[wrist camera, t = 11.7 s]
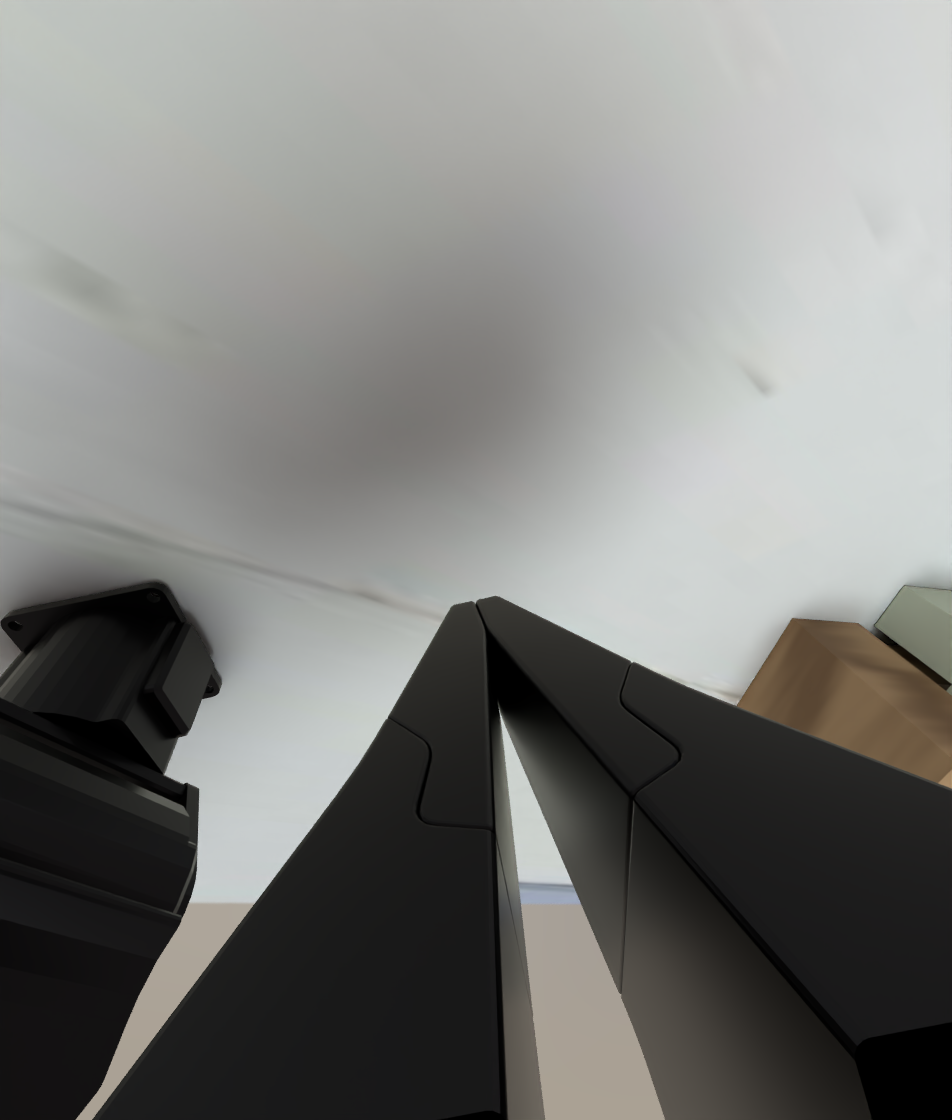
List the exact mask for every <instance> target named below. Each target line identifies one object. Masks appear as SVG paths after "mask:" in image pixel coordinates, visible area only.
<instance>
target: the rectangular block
mask: <svg viewBox="0 0 952 1120" xmlns="http://www.w3.org/2000/svg"><path fill="white" fill-rule="evenodd" d="M951 685H952V684H951V683H950V682H948V681H947V680H946V679H944V678H943V677H942V676H940V675H939V674H938V673H936V672H935V671H934V670H932V669H931V668H930V667H928V666H927V665H926V664H924V663H923V662H922V661H920V660H919V659H918V658H917V657H915V656H914V655H913V654H911V653H910V652H909V651H907V650H906V649H905V648H903V647H902V646H894V645H886V644H885V643H883V642H882V641H881V640H879V639H878V638H877V637H875V636H874V635H873V634H872V633H870V632H869V631H868V630H866V629H865V628H864V627H862V626H861V625H860V624H859V623H848V622H835V621H822V620H809V619H796V618H792V620H791V621H790V623H789V624H788V626H787V628H786V629H785V631H784V632H783V634H782V635H781V637H780V639H779V640H778V642H777V643H776V645H775V646H774V648H773V650H772V651H771V653H770V654H769V656H768V657H767V659H766V661H765V662H764V664H763V665H762V667H761V669H760V670H759V672H758V673H757V675H756V676H755V678H754V680H753V681H752V683H751V684H750V686H749V687H748V689H747V691H746V692H745V694H744V695H743V697H742V699H741V700H740V702H739V703H738V705H737V707H740V708H742V709H745V710H748V711H750V712H753V713H755V714H758V715H761V716H763V717H766V718H769V719H771V720H774V721H776V722H779V723H782V724H784V725H787V726H790V727H792V728H795V729H797V730H800V731H803V732H805V733H808V734H810V735H813V736H816V737H818V738H821V739H824V740H826V741H829V742H831V743H834V744H837V745H839V746H842V747H844V748H847V749H850V750H852V751H855V752H858V753H860V754H863V755H865V756H868V757H871V758H873V759H876V760H878V761H881V762H884V763H886V764H889V765H892V766H894V767H897V768H899V769H902V770H905V771H907V772H910V773H913V774H915V775H918V776H920V777H923V778H926V779H928V780H931V781H933V782H936V783H939V784H941V785H944V786H947V787H949V788H952V695H951V694H949V693H948V692H947V689H948V688H949V687H950V686H951Z"/></svg>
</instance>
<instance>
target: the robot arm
mask: <svg viewBox="0 0 952 1120" xmlns="http://www.w3.org/2000/svg"><path fill="white" fill-rule="evenodd" d="M151 593H156V594H158V595H159V596H160V597H155V596H153V595H152V594H151ZM15 621H16V622H19V623H20V624H22V625H20V624H17V623H16V622H15ZM1 627H2V629H3V630H4V631H5V632H6V633H7V635H8V636H9V637H10V638H11V639H12V641H13V642H14V643H15V644H16V645H17V647H18V648H19V649H20V650H21V651H22V652H21V653H20V655H19V656H18V657H17V658H16V659H15V660H14V662H13V663H12V664H11V665H10V666H9V667H8V669H7V670H6V671H5V672H4V673H3V674H2V676H1V677H0V1120H76V1118H77V1117H78V1116H79V1115H80V1113H81V1112H82V1111H83V1109H84V1108H85V1107H86V1106H87V1104H88V1103H89V1102H90V1101H91V1099H92V1098H93V1097H94V1095H95V1094H96V1093H97V1091H98V1090H99V1088H100V1087H101V1085H102V1083H103V1081H104V1079H105V1076H106V1074H107V1071H108V1069H109V1066H110V1064H111V1061H112V1059H113V1056H114V1054H115V1051H116V1049H117V1046H118V1044H119V1041H120V1039H121V1036H122V1033H123V1031H124V1028H125V1026H126V1024H127V1021H128V1019H129V1017H130V1014H131V1012H132V1010H133V1007H134V1005H135V1003H136V1000H137V998H138V996H139V994H140V992H141V990H142V988H143V986H144V985H145V983H146V981H147V979H148V977H149V975H150V973H151V971H152V969H153V967H154V965H155V963H156V961H157V960H158V958H159V957H160V955H161V953H162V952H163V950H164V949H165V947H166V946H167V944H168V943H169V941H170V939H171V938H172V936H173V935H174V933H175V932H176V930H177V928H178V927H179V925H180V923H181V919H182V917H183V915H184V913H185V911H186V908H187V906H188V903H189V901H190V898H191V895H192V892H193V888H194V884H195V880H196V872H197V845H198V812H199V788H197V787H195V786H192V785H190V784H188V783H185V784H182V783H180V782H178V781H175V780H173V779H171V778H169V777H167V776H165V775H164V774H165V771H166V768H167V766H168V763H169V761H170V758H171V756H172V753H173V750H174V748H175V745H176V743H177V740H178V738H179V737H182V736H186V735H187V734H188V732H189V731H190V729H191V727H192V724H193V722H194V719H195V716H196V713H197V711H198V708H199V705H200V703H201V700H202V699H205V698H209V697H213V696H216V695H217V694H218V693H219V691H220V688H221V685H222V683H221V680H220V678H219V677H218V675H217V673H216V671H215V670H214V662H213V660H212V659H211V657H210V655H209V653H208V652H207V650H206V648H205V646H204V644H203V643H202V641H201V639H200V637H199V636H198V634H197V632H196V630H195V629H194V627H193V625H191V624H190V623H189V622H187V620H186V619H185V617H184V615H183V613H182V612H181V610H180V608H179V606H178V605H177V603H176V601H175V599H174V598H173V596H172V594H171V592H170V591H169V589H168V588H167V587H166V586H165V585H163V584H161V583H157V582H156V583H147V584H142V585H138V586H133V587H128V588H123V589H118V590H113V591H108V592H103V593H98V594H93V595H88V596H83V597H79V598H74V599H69V600H64V601H59V602H54V603H49V604H44V605H39V606H34V607H29V608H25V609H20V610H15V611H12V612H9V613H8V614H7V615H6V616H5V617H4V618H3V619H2V621H1ZM207 686H212V687H207ZM498 706H499V707H498ZM499 710H500V713H501V716H502V718H503V721H504V724H505V726H506V728H507V731H508V733H509V735H510V738H511V740H512V743H513V745H514V747H515V750H516V752H517V754H518V757H519V759H520V761H521V764H522V766H523V768H524V771H525V773H526V775H527V778H528V780H529V782H530V785H531V787H532V790H533V792H534V794H535V797H536V799H537V801H538V804H539V806H540V808H541V811H542V813H543V815H544V818H545V820H546V822H547V825H548V827H549V829H550V832H551V834H552V836H553V839H554V841H555V844H556V846H557V848H558V851H559V853H560V855H561V858H562V860H563V862H564V865H565V867H566V869H567V872H568V874H569V876H570V879H571V881H572V883H573V886H574V888H575V891H576V893H577V895H578V898H579V900H580V902H581V905H582V906H583V909H584V912H585V914H586V916H587V919H588V921H589V923H590V925H591V928H592V930H593V933H594V935H595V938H596V940H597V942H598V944H599V947H600V949H601V952H602V954H603V956H604V959H605V961H606V963H607V965H608V968H609V970H610V973H611V975H612V977H613V980H614V982H615V984H616V987H617V989H618V991H619V993H620V994H621V998H622V1001H623V1003H624V1005H625V1008H626V1010H627V1012H628V1015H629V1018H630V1020H631V1023H632V1025H633V1028H634V1030H635V1033H636V1036H637V1038H638V1041H639V1044H640V1046H641V1049H642V1052H643V1055H644V1058H645V1060H646V1063H647V1066H648V1069H649V1072H650V1075H651V1078H652V1081H653V1084H654V1087H655V1090H656V1093H657V1096H658V1099H659V1102H660V1105H661V1108H662V1111H663V1114H664V1117H665V1120H952V788H949V787H947V786H944V785H941V784H939V783H936V782H933V781H931V780H928V779H926V778H923V777H920V776H918V775H915V774H913V773H910V772H907V771H905V770H902V769H899V768H897V767H894V766H892V765H889V764H886V763H884V762H881V761H878V760H876V759H873V758H871V757H868V756H865V755H863V754H860V753H858V752H855V751H852V750H850V749H847V748H844V747H842V746H839V745H837V744H834V743H831V742H829V741H826V740H824V739H821V738H818V737H816V736H813V735H810V734H808V733H805V732H803V731H800V730H797V729H795V728H792V727H790V726H787V725H784V724H782V723H779V722H776V721H774V720H771V719H769V718H766V717H763V716H761V715H758V714H755V713H753V712H750V711H748V710H745V709H742V708H740V707H737V706H735V705H732V704H729V703H727V702H724V701H722V700H719V699H717V698H714V697H712V696H709V695H707V694H704V693H702V692H699V691H697V690H694V689H692V688H690V687H687V686H685V685H683V684H680V683H678V682H676V681H674V680H672V679H669V678H667V677H665V676H663V675H661V674H658V673H656V672H654V671H652V670H650V669H648V668H646V667H644V666H642V665H640V664H638V663H635V662H633V663H631V661H630V660H628V659H626V658H623V657H621V656H619V655H617V654H615V653H613V652H611V651H609V650H607V649H605V648H603V647H601V646H599V645H597V644H595V643H593V642H591V641H589V640H587V639H585V638H583V637H581V636H579V635H576V634H574V633H572V632H570V631H568V630H566V629H564V628H562V627H560V626H558V625H556V624H554V623H552V622H550V621H548V620H546V619H544V618H542V617H540V616H538V615H536V614H534V613H532V612H529V611H527V610H525V609H523V608H521V607H519V606H517V605H515V604H513V603H511V602H509V601H507V600H505V599H503V598H501V597H498V596H493V597H488V598H484V599H479V600H478V601H477V602H476V604H475V603H474V602H472V601H470V602H465V603H461V604H456V605H453V606H452V607H451V608H450V610H449V612H448V613H447V615H446V617H445V619H444V620H443V622H442V624H441V626H440V627H439V629H438V631H437V633H436V634H435V636H434V638H433V640H432V641H431V643H430V645H429V647H428V648H427V650H426V652H425V653H424V655H423V657H422V659H421V660H420V662H419V664H418V666H417V667H416V669H415V671H414V673H413V674H412V676H411V678H410V680H409V681H408V683H407V685H406V687H405V688H404V690H403V692H402V694H401V695H400V697H399V699H398V700H397V702H396V704H395V706H394V707H393V709H392V711H391V713H390V714H389V716H388V719H386V720H385V722H384V723H383V725H382V727H381V729H380V730H379V732H378V734H377V735H376V737H375V739H374V740H373V742H372V743H371V745H370V747H369V748H368V750H367V752H366V753H365V755H364V756H363V758H362V760H361V761H360V763H359V764H358V766H357V767H356V768H355V770H354V771H353V773H352V774H351V775H350V777H349V778H348V780H347V781H346V782H345V784H344V785H343V787H342V788H341V789H340V791H339V792H338V794H337V795H336V796H335V798H334V799H333V800H332V802H331V803H330V804H329V806H328V807H327V808H326V810H325V811H324V812H323V814H322V815H321V816H320V818H319V819H318V820H317V822H316V823H315V824H314V826H313V827H312V828H311V830H310V831H309V832H308V834H307V835H306V836H305V838H304V839H303V840H302V842H301V843H300V844H299V846H298V847H297V848H296V850H295V851H294V852H293V854H292V855H291V856H290V858H289V859H288V860H287V862H286V863H285V864H284V866H283V867H282V868H281V870H280V871H279V872H278V874H277V875H276V876H275V878H274V879H273V880H272V882H271V883H270V884H269V886H268V887H267V888H266V889H265V891H264V892H263V893H262V895H261V896H260V897H259V899H258V900H257V901H256V903H255V904H254V905H253V907H252V908H251V909H250V911H249V912H248V914H247V915H246V916H245V917H244V919H243V920H242V921H241V923H240V924H239V925H238V927H237V928H236V929H235V931H234V932H233V933H232V935H231V936H230V937H229V939H228V940H227V941H226V943H225V944H224V945H223V947H222V948H221V949H220V951H219V952H218V953H217V955H216V956H215V958H214V959H213V960H212V961H211V963H210V964H209V965H208V967H207V968H206V969H205V971H204V972H203V973H202V975H201V976H200V977H199V979H198V980H197V981H196V983H195V984H194V985H193V987H192V988H191V989H190V991H189V992H188V993H187V994H186V996H185V997H184V999H183V1000H182V1001H181V1002H180V1004H179V1005H178V1007H177V1008H176V1009H175V1010H174V1012H173V1013H172V1014H171V1016H170V1017H169V1018H168V1020H167V1021H166V1022H165V1024H164V1025H163V1026H162V1028H161V1029H160V1030H159V1032H158V1033H157V1034H156V1036H155V1037H154V1038H153V1040H152V1041H151V1042H150V1044H149V1045H148V1046H147V1048H146V1049H145V1050H144V1052H143V1053H142V1055H141V1056H140V1057H139V1058H138V1060H137V1061H136V1062H135V1064H134V1065H133V1066H132V1068H131V1069H130V1070H129V1072H128V1073H127V1074H126V1076H125V1077H124V1078H123V1080H122V1081H121V1082H120V1084H119V1085H118V1086H117V1088H116V1089H115V1090H114V1092H113V1093H112V1094H111V1096H110V1097H109V1098H108V1099H107V1101H106V1102H105V1103H104V1105H103V1106H102V1108H101V1109H100V1110H99V1111H98V1113H97V1114H96V1115H95V1117H94V1118H93V1119H92V1120H545V1115H544V1108H543V1099H542V1091H541V1082H540V1074H539V1066H538V1057H537V1048H536V1039H535V1030H534V1023H533V1012H532V1003H531V994H530V984H529V976H528V966H527V957H526V947H525V938H524V929H523V920H522V911H521V901H520V892H519V883H518V874H517V865H516V855H515V846H514V837H513V828H512V819H511V809H510V800H509V791H508V782H507V773H506V763H505V754H504V745H503V736H502V727H501V720H500V713H499Z"/></svg>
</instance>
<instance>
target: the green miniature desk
mask: <svg viewBox="0 0 952 1120" xmlns="http://www.w3.org/2000/svg"><path fill="white" fill-rule="evenodd" d="M875 627H877V628H878V629H879V630H881V631H882V632H883V633H885V634H886V635H887V636H889V637H890V638H891V639H893V640H894V641H895V642H897V643H898V644H899V645H901V646H902V647H903V648H905V649H906V650H907V651H909V652H910V653H911V654H913V655H914V656H915V657H917V658H918V659H919V660H920V661H922V662H923V663H924V664H926V665H927V666H928V667H930V668H931V669H932V670H934V671H935V672H936V673H938V674H939V675H940V676H942V677H943V678H944V679H946V680H947V681H948V682H950V683H951V684H952V591H950V590H941V589H931V588H922V587H912V586H904V587H903V588H902V589H901V591H900V592H899V593H898V595H897V596H896V597H895V599H894V600H893V601H892V603H891V604H890V606H889V607H888V608H887V610H886V611H885V612H884V614H883V615H882V616H881V618H880V619H879V620H878V622H877V623H876V624H875ZM947 692H948V693H949V694H951V695H952V685H951V686H950V687H949V688H948V689H947Z"/></svg>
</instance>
